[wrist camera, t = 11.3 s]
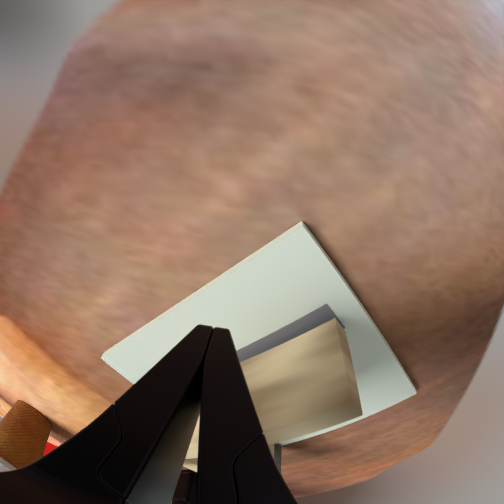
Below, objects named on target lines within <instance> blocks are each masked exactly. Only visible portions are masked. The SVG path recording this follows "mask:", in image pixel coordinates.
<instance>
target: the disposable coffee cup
mask: <svg viewBox="0 0 504 504" xmlns="http://www.w3.org/2000/svg"><path fill="white" fill-rule="evenodd" d="M51 428H52V425H51V423H50V422H49V421H48V420H47V419H46V418H45V417H44V416H43V415H42V414H41V413H39V412H38V411H37V410H36V409H34V408H33V407H31V406H30V405H28V404H27V403H25V402H23V401H20V400H18V401H17V402H16V403H15V404H14V406H13V407H12V408H11V409H10V411H9V412H8V413H7V414H6V416H5V417H4V418H3V420H2V421H1V422H0V472H4V471H11V470H16V469H20V468H23V467H26V466H28V465H30V464H32V463H34V462H35V461H37V460H39V459H40V458H42V457H43V453H44V450H45V447H46V443H47V440H48V437H49V434H50V431H51Z"/></svg>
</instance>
